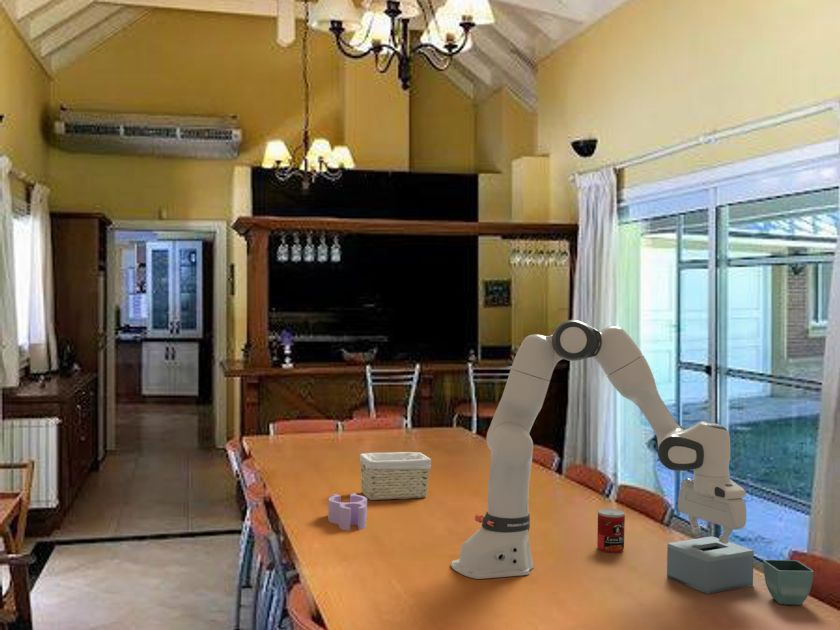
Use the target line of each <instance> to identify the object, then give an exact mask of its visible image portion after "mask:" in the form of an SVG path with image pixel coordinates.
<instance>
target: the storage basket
mask: <svg viewBox="0 0 840 630" xmlns="http://www.w3.org/2000/svg"><path fill="white" fill-rule="evenodd" d="M431 459H432V458H430V457H429V456H427V455H425V454H423V453H422V452H421V451H418V452H413V451H405V452H404V451H396V452H366V453H360V454H359V461H360V462H359V464H360V479H361V480H360V481H361V483H360V484H361V485H360V486H361V493H362V494H363V496H364V497H366V498H367V499H369V501H378V500H380V501H381V500H394V499H396V500H398V499H399V500H409V499H420V498H427V493H428V486H429V478H430V470H431V468H432V460H431Z"/></svg>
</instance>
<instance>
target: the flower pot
mask: <svg viewBox="0 0 840 630" xmlns="http://www.w3.org/2000/svg"><path fill="white" fill-rule="evenodd" d="M762 564H763V574H764V580H765V585H766V588H767V590H768V592H769V594H770V597H771V598H772V599H773V600H775V601H776V602H777V603H778V604H781V605H783V604H784V605H793V606H794V605H795V606H799V605H800V606H801V605H803V603H804V602H805V601H806V600H807V598H808V596H809V595H810V592H811V588H812V584H813V579H814V573H815V571H814V570H813V569H811V567H810V568H809V567H808V566H807V565H806V564H804V563H802V562H800V561H799V560H796V559H795V560H794V559H792V560H790V559H785V560H784V559H763V560H762Z"/></svg>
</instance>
